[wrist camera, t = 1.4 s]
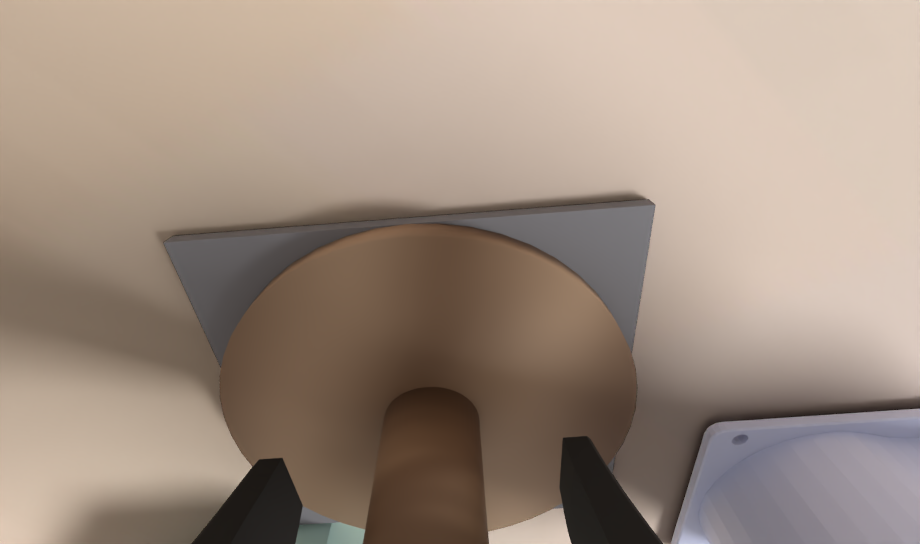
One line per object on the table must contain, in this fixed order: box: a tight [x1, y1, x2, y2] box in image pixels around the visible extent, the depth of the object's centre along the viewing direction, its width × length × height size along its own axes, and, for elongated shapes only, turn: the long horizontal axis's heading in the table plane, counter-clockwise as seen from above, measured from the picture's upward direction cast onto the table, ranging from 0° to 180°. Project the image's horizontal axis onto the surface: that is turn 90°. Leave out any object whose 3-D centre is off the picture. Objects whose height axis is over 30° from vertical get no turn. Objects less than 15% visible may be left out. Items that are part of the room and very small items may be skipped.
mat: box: [164, 199, 655, 525], centre depth 13 cm, size 12×12×1 cm
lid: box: [220, 224, 637, 544], centre depth 11 cm, size 12×12×5 cm
